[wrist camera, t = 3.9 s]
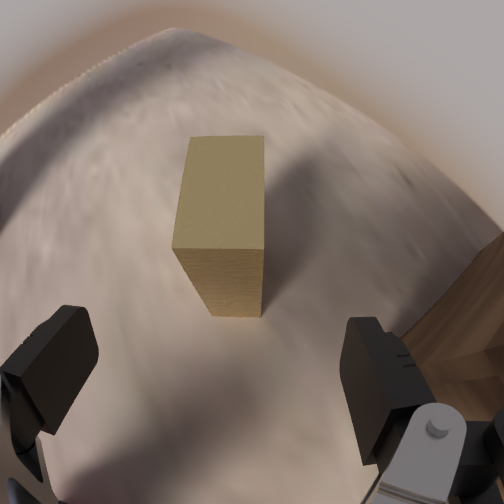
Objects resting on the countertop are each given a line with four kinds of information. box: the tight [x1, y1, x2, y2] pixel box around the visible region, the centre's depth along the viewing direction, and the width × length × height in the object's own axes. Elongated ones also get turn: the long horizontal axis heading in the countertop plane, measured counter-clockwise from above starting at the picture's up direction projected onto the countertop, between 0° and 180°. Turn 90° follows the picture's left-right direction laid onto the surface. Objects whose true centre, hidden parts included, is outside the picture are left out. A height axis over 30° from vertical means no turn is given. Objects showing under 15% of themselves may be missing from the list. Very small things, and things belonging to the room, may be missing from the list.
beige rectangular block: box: [172, 136, 264, 317], centre depth 16 cm, size 5×3×10 cm, turn 179°
